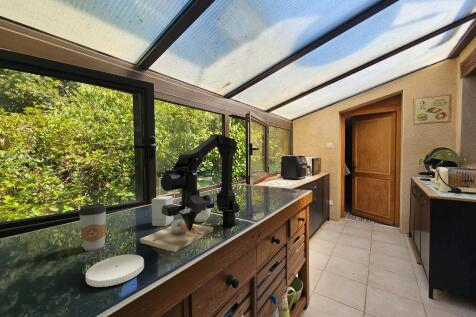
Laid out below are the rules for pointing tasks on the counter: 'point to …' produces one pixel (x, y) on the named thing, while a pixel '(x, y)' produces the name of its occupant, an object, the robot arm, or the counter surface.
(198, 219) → the lidded jar
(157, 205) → the supplement box
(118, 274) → the plastic lid
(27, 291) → the counter surface
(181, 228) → the handle
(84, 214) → the coffee cup
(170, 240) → the coupling base
